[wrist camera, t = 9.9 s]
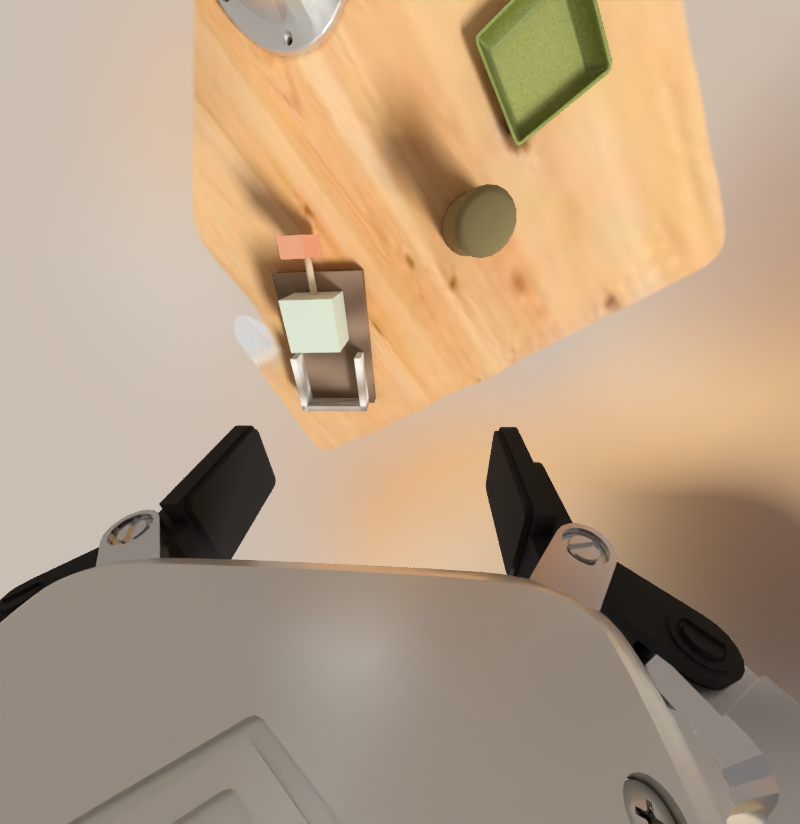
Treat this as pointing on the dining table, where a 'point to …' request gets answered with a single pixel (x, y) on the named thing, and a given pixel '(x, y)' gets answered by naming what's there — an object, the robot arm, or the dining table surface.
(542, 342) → the dining table surface
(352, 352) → the shelf
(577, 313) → the dining table surface
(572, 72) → the green tray
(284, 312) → the joined block piece
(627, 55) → the dining table surface
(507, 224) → the cork
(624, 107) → the dining table surface
